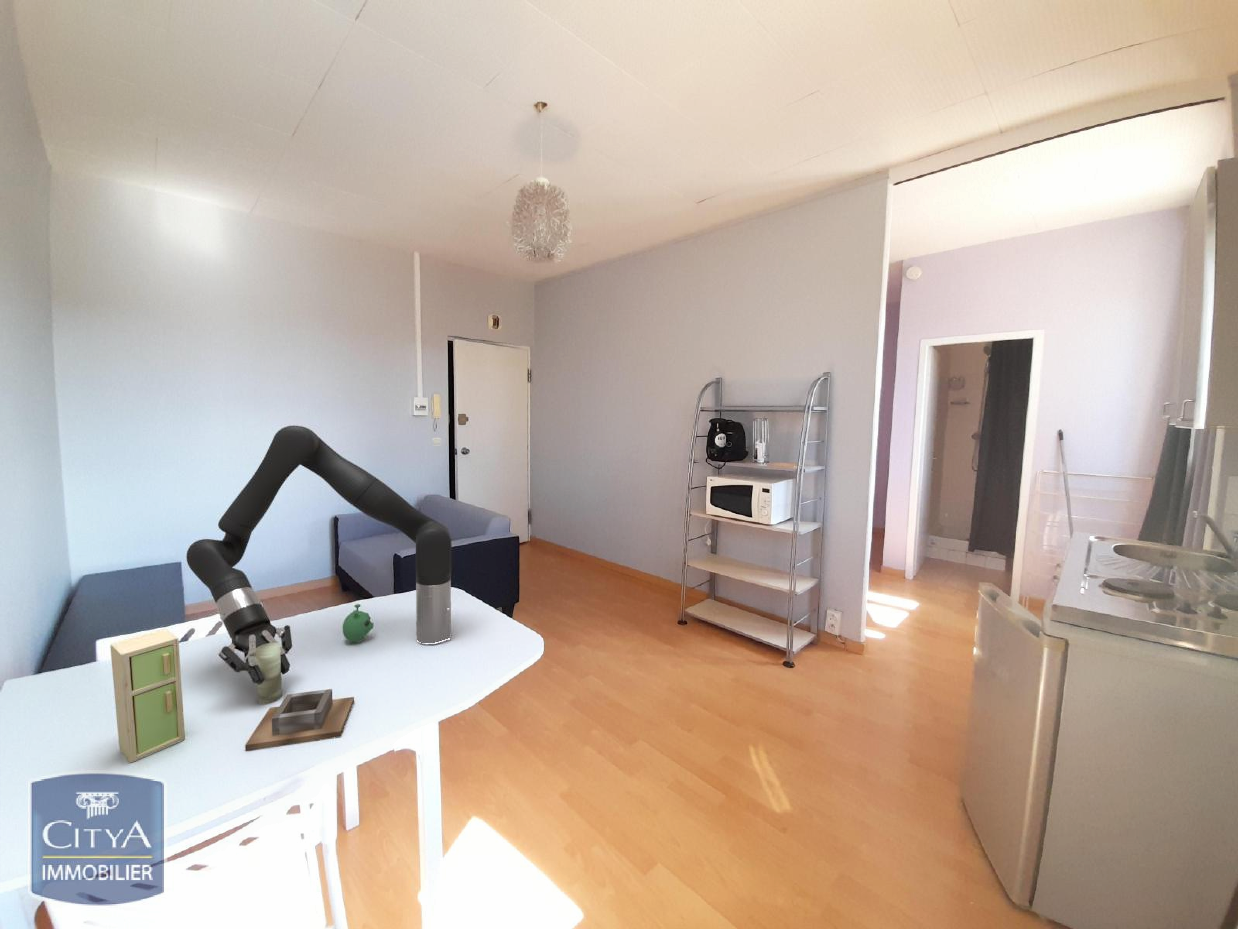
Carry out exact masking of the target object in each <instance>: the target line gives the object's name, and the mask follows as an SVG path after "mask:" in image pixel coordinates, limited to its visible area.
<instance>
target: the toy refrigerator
mask: <svg viewBox="0 0 1238 929" xmlns="http://www.w3.org/2000/svg"><path fill="white" fill-rule="evenodd" d="M179 644H180V643H179V637H178V636H177V635H175V634H174V633H172V632H171V631H170V630H169V629H167V628H164V629H160V630H156V631H153V632H148V633H145V634H142V635H139V636H135V637H131V638H127V639H124V640H121V641H116V642H113V643H111V644H110V647H109V648H110V656H111V660H110V661H111V668H112V669H111V670H112V680H113V692H114V704H115V714H116V715H115V716H116V724H117V725H116V726H117V727H116V728H117V736H118V737H117V738H118V747H119V751H120V752H121V753H122V755H123V756H124V757H125V759H126V760H127V761H128V763H130V764H131V763H133V762H136V761H139V760H141V759H143V758H146V757H148V756H150V755H153V754H155V753H157V752H160V751H161V750H164V749H166V748H168V747H171V746H173V745H175V744H177V743H180V742H183V741H184V740H186V730H185V717H184V716H185V715H184V704H183V688H182V675H181V674H182V670H181V659H180V645H179Z"/></svg>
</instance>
